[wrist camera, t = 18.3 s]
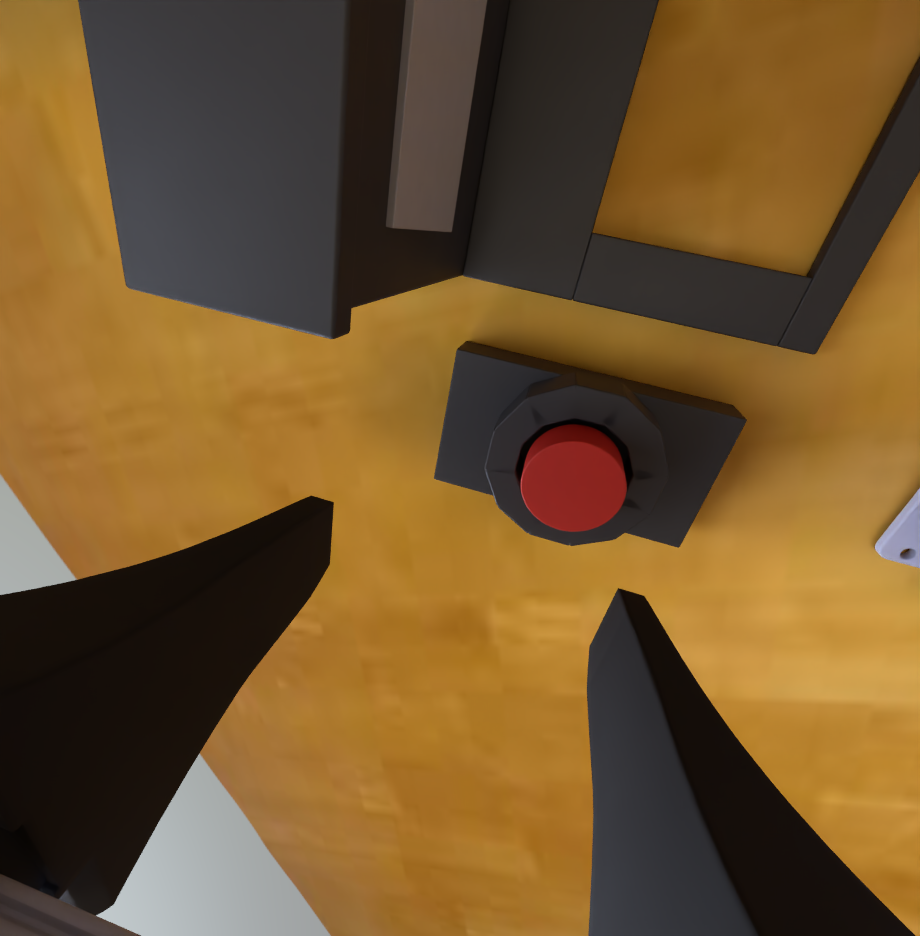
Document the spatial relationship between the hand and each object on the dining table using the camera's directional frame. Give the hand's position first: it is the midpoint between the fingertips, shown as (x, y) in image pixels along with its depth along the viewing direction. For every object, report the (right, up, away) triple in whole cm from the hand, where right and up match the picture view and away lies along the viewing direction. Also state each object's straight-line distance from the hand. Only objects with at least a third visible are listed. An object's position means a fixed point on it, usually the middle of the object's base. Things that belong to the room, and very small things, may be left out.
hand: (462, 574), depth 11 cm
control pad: (+5, +4, +9) cm, 11 cm away
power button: (+4, +3, +6) cm, 8 cm away
